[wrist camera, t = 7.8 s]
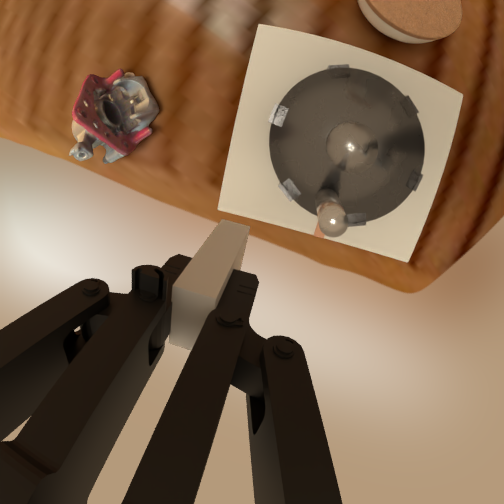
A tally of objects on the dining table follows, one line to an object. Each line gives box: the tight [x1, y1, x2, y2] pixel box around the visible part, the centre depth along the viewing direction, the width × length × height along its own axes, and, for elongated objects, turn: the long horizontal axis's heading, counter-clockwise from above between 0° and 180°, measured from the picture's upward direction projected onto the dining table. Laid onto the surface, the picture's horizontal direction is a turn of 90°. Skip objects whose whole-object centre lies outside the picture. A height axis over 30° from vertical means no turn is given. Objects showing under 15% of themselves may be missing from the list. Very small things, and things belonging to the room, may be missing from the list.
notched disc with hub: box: [268, 64, 425, 237], centre depth 25 cm, size 16×17×9 cm
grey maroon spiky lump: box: [69, 69, 159, 164], centre depth 29 cm, size 11×11×12 cm
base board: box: [218, 24, 463, 263], centre depth 30 cm, size 24×22×2 cm
